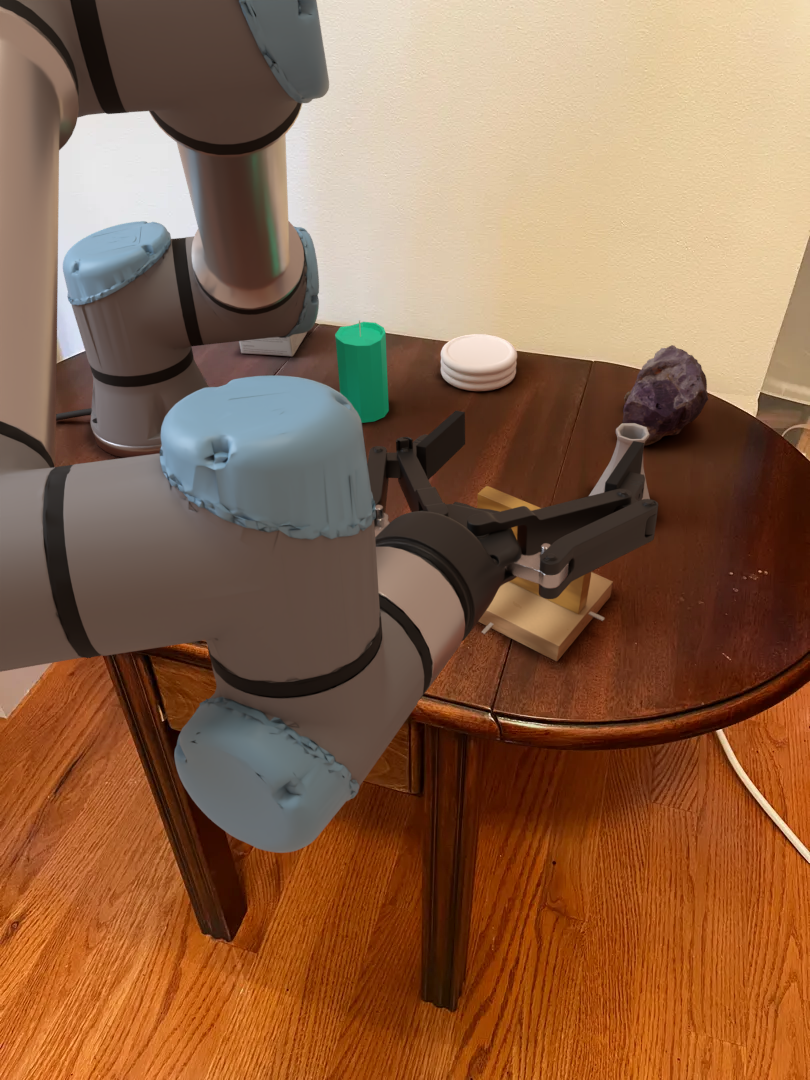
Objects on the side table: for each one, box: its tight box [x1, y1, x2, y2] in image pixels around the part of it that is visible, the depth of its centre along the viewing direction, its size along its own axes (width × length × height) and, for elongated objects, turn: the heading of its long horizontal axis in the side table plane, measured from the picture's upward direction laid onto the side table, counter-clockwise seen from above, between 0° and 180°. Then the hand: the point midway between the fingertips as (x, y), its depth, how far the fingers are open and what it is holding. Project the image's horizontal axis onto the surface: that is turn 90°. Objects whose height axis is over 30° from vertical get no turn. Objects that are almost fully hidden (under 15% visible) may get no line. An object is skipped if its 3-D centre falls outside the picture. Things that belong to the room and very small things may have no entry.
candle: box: [334, 319, 390, 424], centre depth 101 cm, size 6×6×12 cm
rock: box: [621, 344, 709, 446], centre depth 98 cm, size 12×9×10 cm
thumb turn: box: [476, 485, 593, 614], centre depth 74 cm, size 11×2×9 cm, turn 53°
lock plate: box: [477, 571, 614, 662], centre depth 77 cm, size 15×15×2 cm
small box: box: [238, 331, 308, 357], centre depth 118 cm, size 8×8×5 cm
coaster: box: [440, 333, 518, 392], centre depth 110 cm, size 10×10×4 cm
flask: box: [588, 423, 651, 500], centre depth 85 cm, size 7×7×10 cm
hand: (544, 442), depth 61 cm, fingers open, 13 cm apart
